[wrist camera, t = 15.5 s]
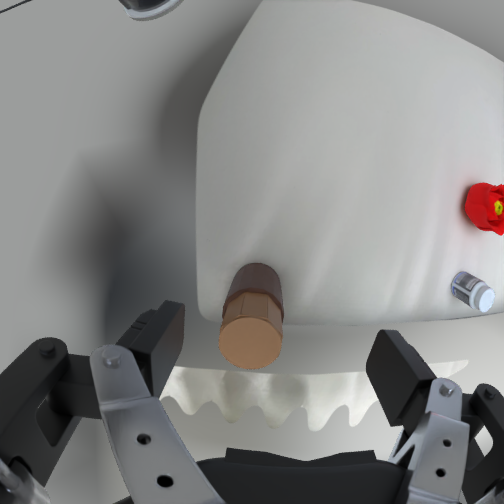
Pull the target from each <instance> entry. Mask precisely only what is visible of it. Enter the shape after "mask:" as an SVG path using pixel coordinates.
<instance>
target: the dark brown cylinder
mask: <svg viewBox="0 0 504 504" xmlns="http://www.w3.org/2000/svg"><path fill="white" fill-rule="evenodd" d="M244 292H253V293H261V294H267V295H269V297H270V298H271V299H272V300H273V301H274V303H275V304H276V305H277V306H278V307H279V309H280V311H281V320H282V323H283V317H284V310H283V301H282V292H281V284H280V280H279V277H278V275H277V273H276V272H275V271H274V270H273V269H272V268H271V267H269V266H267V265H265V264H261V263H252V264H248V265H246V266H244V267H242V268H241V269H240V270H239V271H238V272H237V274H236V275H235V277H234V279H233V282H232V285H231V287H230V290H229V292H228V295H227V298H226V301H225V303H224V306H223V314H222V318H223V319H224V316H225V313H226V310H227V307H228V304H229V303H230V302H231V301H233V300H234V299H236V298H237V297H238V296H240V295H241V294H243V293H244Z"/></svg>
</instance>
